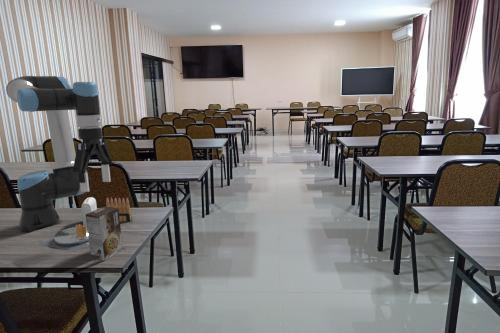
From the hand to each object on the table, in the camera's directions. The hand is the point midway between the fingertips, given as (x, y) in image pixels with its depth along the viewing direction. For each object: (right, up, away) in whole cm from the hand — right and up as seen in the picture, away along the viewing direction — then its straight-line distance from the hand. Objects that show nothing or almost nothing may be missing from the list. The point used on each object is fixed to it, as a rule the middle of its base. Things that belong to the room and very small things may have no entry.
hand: (96, 186), depth 124 cm
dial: (-11, -20, +7) cm, 24 cm away
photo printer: (-13, -19, +24) cm, 33 cm away
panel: (-11, -22, +7) cm, 26 cm away
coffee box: (+5, -24, -3) cm, 25 cm away
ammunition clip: (-1, -18, +26) cm, 31 cm away
